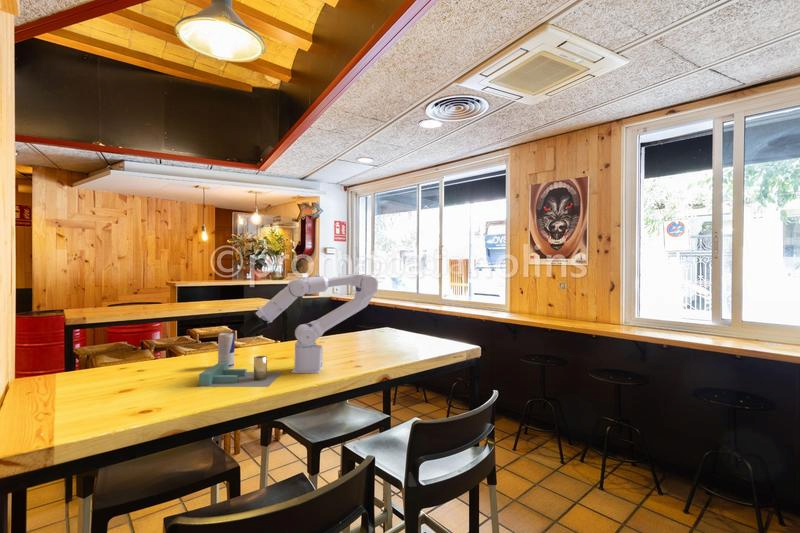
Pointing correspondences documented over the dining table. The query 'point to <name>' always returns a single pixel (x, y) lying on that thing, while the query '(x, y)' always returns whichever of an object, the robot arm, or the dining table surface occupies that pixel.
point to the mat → (248, 381)
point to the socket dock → (220, 374)
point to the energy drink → (226, 348)
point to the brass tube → (260, 368)
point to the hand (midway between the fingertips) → (244, 334)
